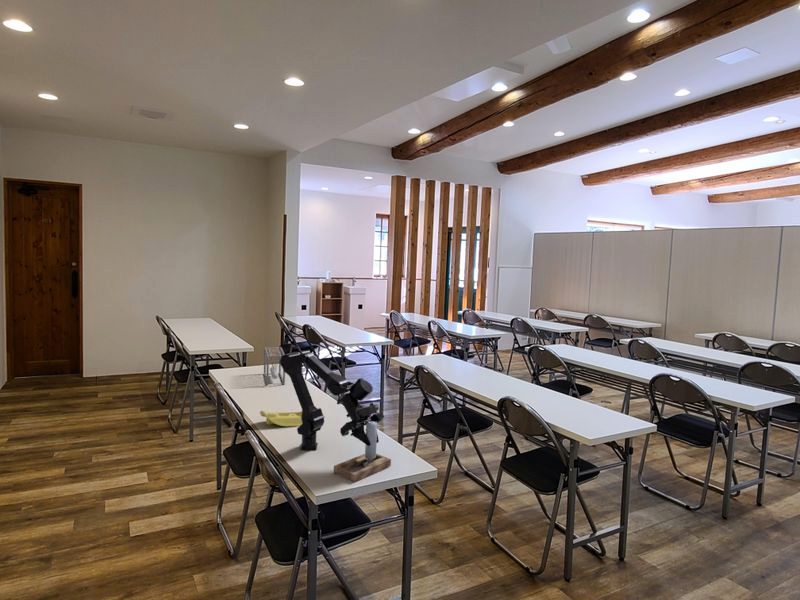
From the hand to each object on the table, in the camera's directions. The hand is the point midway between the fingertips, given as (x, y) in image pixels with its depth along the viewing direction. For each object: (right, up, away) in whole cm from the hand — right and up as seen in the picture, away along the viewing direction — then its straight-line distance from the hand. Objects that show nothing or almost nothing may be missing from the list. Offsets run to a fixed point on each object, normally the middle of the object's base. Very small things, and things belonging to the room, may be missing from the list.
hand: (373, 443), depth 186 cm
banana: (-44, -4, +45) cm, 63 cm away
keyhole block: (-4, -9, -1) cm, 10 cm away
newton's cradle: (-67, +4, +123) cm, 141 cm away
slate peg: (-1, -8, +2) cm, 9 cm away
